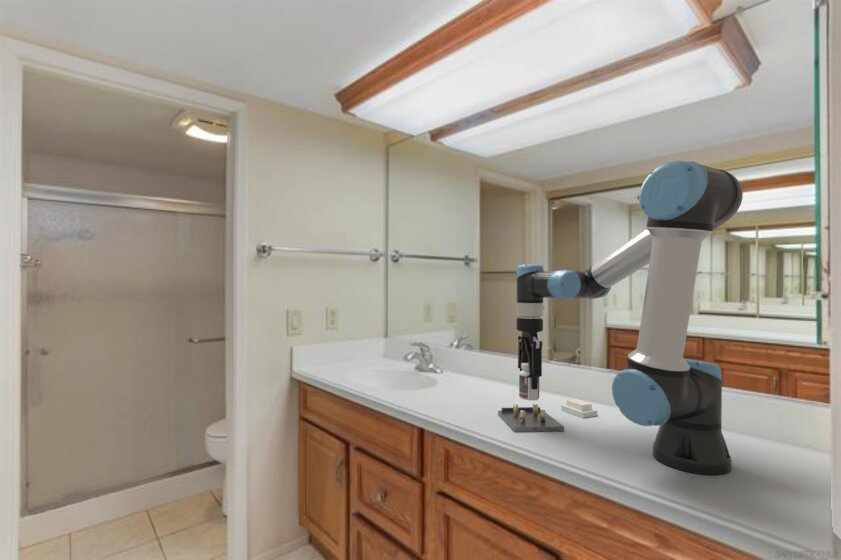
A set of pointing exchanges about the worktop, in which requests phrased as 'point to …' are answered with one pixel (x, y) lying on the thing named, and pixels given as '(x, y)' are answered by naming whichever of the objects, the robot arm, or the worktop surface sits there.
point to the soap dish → (579, 413)
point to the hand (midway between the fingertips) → (529, 397)
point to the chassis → (529, 419)
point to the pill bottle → (524, 382)
